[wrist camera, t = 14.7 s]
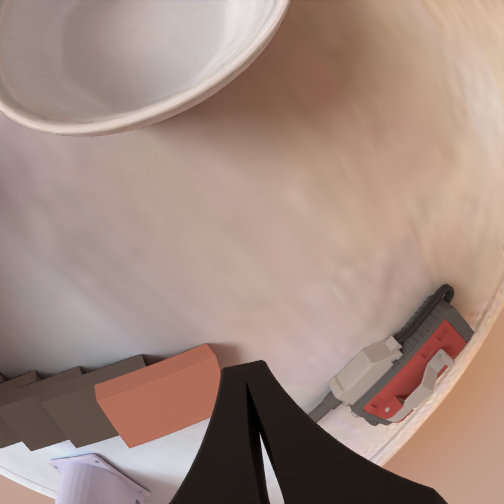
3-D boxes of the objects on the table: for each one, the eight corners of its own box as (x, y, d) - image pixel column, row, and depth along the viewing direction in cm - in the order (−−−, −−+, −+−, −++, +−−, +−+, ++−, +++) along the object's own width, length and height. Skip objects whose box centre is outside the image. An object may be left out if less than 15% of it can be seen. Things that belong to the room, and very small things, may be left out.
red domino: (216, 355, 18) (96, 400, 15) (231, 407, 20) (129, 448, 17) (206, 343, 20) (94, 385, 16) (222, 394, 21) (124, 432, 18)
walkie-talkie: (426, 262, 21) (263, 434, 24) (463, 286, 17) (273, 473, 20) (465, 311, 24) (326, 451, 27) (495, 334, 20) (339, 482, 23)
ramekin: (68, -41, 10) (29, -91, 3) (271, -48, 12) (303, -112, 5) (29, 144, 14) (-46, 152, 7) (251, 144, 16) (284, 142, 10)
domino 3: (146, 366, 18) (40, 402, 15) (170, 416, 20) (76, 448, 16) (141, 353, 19) (41, 387, 16) (164, 403, 21) (74, 433, 18)
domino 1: (36, 381, 17) (-37, 408, 13) (65, 425, 19) (-3, 449, 15) (35, 370, 18) (-35, 397, 14) (63, 413, 20) (-3, 437, 16)
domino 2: (81, 378, 18) (-5, 408, 14) (110, 424, 19) (31, 451, 16) (79, 365, 19) (-3, 395, 15) (106, 411, 21) (30, 438, 17)
